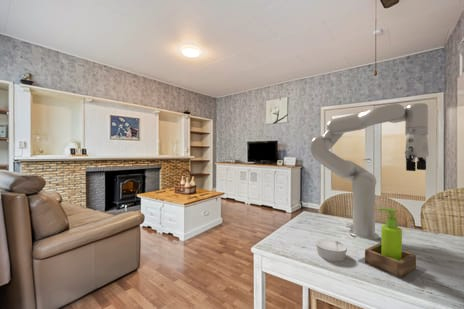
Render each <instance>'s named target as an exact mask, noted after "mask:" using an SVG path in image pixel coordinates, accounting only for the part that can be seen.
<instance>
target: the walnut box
mask: <svg viewBox="0 0 464 309" xmlns="http://www.w3.org/2000/svg"><path fill="white" fill-rule="evenodd" d="M381 244H382V242H378V243H377V244H375V245H372V246H370V247H368V248H366V249H364V257H365V263H366V264H369V265H371V266H373V267H376V268H378V269H380V270H383V271H385V272H387V273H390V274H392V275H394V276H397V277H399V278H401V279H402V278H403V277H405V276H406V275H408V274H409V273H411V272H412V271H413V270H415V269H416V266H417V254H415V253H412V252H409V251H406V250H403V249H402V259H401V260H400V261H398V260H395V259H393V258H390V257H387V256H385V255H382V254H381ZM366 264H365V265H366ZM373 267H372V268H373ZM380 270H379V271H380Z"/></svg>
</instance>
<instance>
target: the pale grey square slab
mask: <svg viewBox="0 0 464 309" xmlns="http://www.w3.org/2000/svg"><path fill="white" fill-rule="evenodd" d="M357 262H360V263H362V264H363V265H366V266H368V267H370V268H373V269H376V270H377V271H379V272H382V273H384V274H387V275H389V276H390V277H391V276H392V277H394V278H396V279H398V280H400V281H403V282H405V283H407V284H410V283H412V282H413V281H414V280H416V279H417V278H419V277H420V276H421V275H422V274H424V273H426V271H428V269H427V268H425V267H421V266H418V265H416V269H415V270H413V271H412V272H411V273H409V274H408V275H406V276H405V277H403V278H402V279H401V278H399V277H397V276H394V275H392V274H390V273H387V272H385V271H383V270H380V269H378V268H376V267H373V266H371V265H369V264H366V263H365V256H364V257H362V258H360V259H358V260H357Z"/></svg>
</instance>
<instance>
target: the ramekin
mask: <svg viewBox="0 0 464 309" xmlns="http://www.w3.org/2000/svg"><path fill="white" fill-rule="evenodd" d="M315 246H316V249H317V250H316V251H317V255H318V256H319V257H321V258H322V259H325V260H327V261H331V262H341V261H344V260H345V257H346V253H347V251H348V248H347V246H346V244H344V243H342V242H340V241H338V240H334V239H329V238H328V239H327V238H324V239H321V238H320V239H318V240H316V242H315Z"/></svg>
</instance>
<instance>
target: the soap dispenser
mask: <svg viewBox="0 0 464 309" xmlns="http://www.w3.org/2000/svg"><path fill="white" fill-rule="evenodd" d="M378 211H387V212H388V216H386V217H385V225H384V224H383V225H381V243H382V244H381V254H382V255H385V256H387V257H390V258H393V259H395V260H398V261H400V260H401V259H402V250H403V247H402V246H403V229H401V228H400V227H398V223H399V221H398V218H396V217H395V216H396V215H395V214H396V213H397V212H398V210H397V209H394V208H390V207H379V208H378Z"/></svg>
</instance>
